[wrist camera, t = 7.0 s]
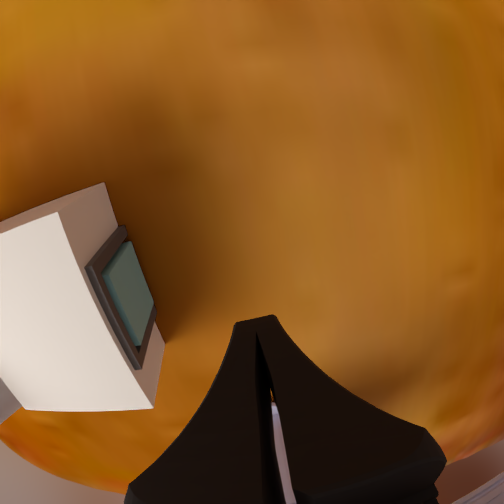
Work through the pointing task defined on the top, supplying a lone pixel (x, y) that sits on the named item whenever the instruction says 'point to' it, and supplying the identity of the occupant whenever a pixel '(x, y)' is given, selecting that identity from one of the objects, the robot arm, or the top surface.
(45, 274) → the socket block
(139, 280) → the peg
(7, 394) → the flask
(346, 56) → the top surface
